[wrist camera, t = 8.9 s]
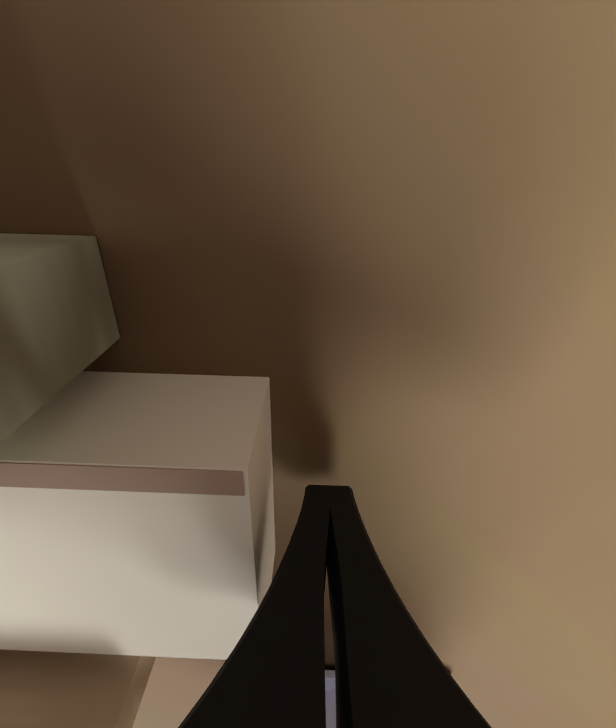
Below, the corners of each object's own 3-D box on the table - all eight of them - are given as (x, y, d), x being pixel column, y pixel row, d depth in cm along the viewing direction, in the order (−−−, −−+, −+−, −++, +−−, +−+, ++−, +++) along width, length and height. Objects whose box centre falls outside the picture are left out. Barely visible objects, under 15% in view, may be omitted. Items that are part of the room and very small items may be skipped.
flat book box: (275, 545, 15) (261, 663, 12) (-16, 534, 15) (-117, 645, 12) (270, 374, 11) (246, 470, 8) (-117, 362, 12) (-309, 449, 8)
